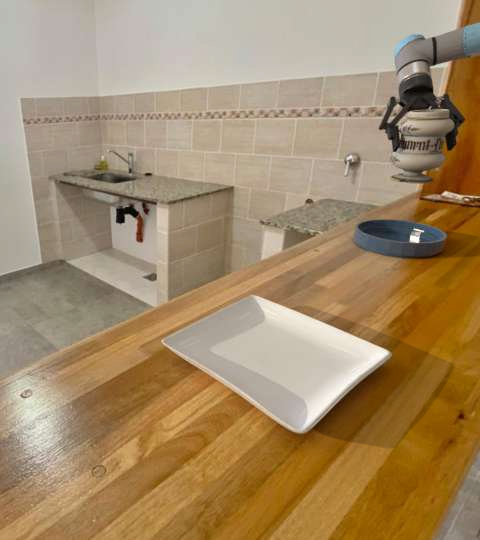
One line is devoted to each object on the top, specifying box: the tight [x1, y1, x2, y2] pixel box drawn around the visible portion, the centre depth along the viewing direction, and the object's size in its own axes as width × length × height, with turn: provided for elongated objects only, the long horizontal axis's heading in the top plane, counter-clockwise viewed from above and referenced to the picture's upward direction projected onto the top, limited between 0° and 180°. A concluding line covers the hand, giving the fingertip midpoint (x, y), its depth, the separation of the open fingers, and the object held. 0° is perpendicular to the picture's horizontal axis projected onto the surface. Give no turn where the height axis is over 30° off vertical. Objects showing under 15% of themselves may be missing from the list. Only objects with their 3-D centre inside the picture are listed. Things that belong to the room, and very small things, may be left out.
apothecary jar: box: [389, 108, 454, 185], centre depth 102 cm, size 12×12×18 cm
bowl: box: [352, 218, 448, 259], centre depth 110 cm, size 21×21×4 cm
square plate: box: [161, 294, 393, 435], centre depth 66 cm, size 27×27×4 cm
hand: (423, 148), depth 100 cm, fingers closed on apothecary jar, 12 cm apart
